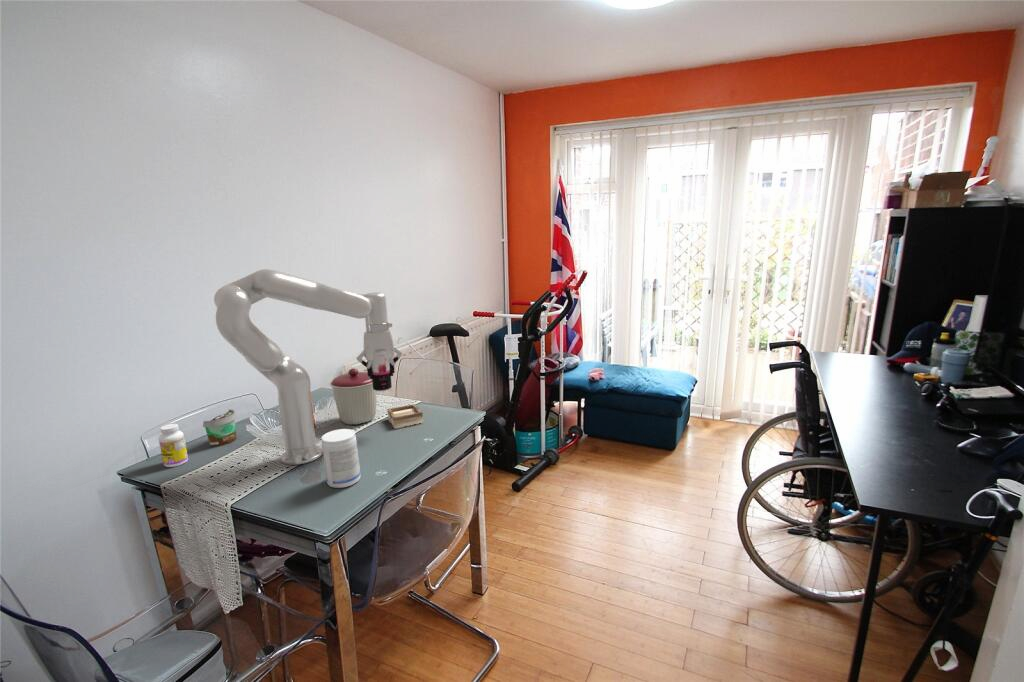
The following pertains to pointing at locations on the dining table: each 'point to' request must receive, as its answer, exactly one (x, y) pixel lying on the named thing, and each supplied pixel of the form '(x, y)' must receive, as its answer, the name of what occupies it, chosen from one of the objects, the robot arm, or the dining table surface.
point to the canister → (354, 397)
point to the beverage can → (381, 371)
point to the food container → (221, 429)
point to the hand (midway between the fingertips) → (381, 376)
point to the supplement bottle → (173, 446)
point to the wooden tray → (405, 416)
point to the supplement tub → (341, 458)
